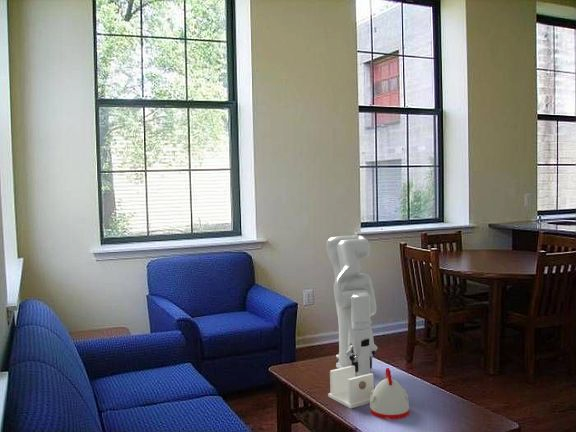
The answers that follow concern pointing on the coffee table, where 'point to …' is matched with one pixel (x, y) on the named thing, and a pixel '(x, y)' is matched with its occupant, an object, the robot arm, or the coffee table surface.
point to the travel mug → (363, 359)
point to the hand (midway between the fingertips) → (361, 368)
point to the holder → (350, 387)
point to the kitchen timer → (389, 399)
